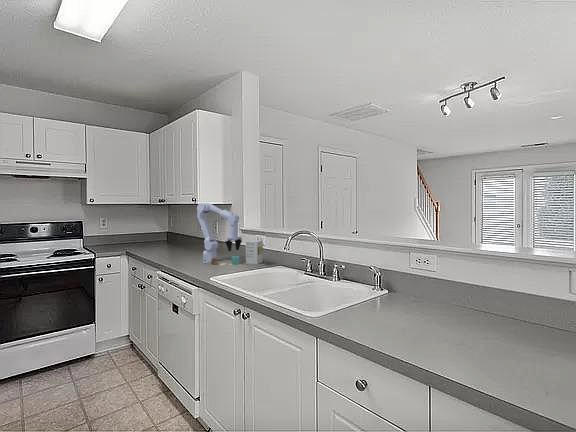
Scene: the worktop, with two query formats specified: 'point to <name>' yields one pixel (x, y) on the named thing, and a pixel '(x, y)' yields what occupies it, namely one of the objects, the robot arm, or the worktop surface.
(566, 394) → the worktop surface
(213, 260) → the wooden board with block
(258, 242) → the supplement box
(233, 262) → the cube
